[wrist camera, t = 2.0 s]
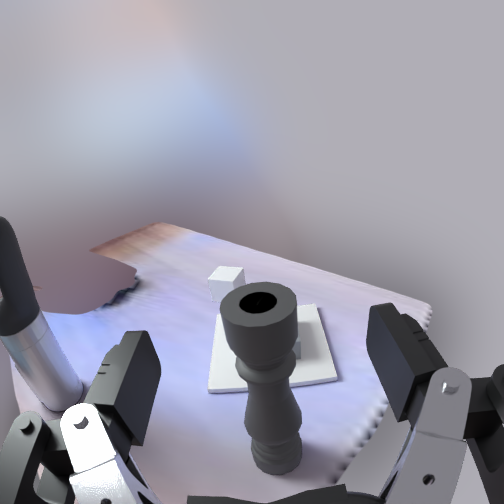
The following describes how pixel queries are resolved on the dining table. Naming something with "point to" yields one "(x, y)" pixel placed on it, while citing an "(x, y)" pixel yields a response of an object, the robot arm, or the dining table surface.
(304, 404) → the dining table surface
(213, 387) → the collar board
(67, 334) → the dining table surface
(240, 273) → the white cube
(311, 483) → the dining table surface
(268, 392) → the candle holder
